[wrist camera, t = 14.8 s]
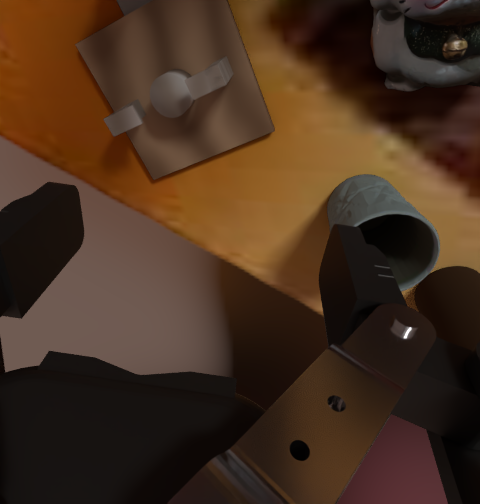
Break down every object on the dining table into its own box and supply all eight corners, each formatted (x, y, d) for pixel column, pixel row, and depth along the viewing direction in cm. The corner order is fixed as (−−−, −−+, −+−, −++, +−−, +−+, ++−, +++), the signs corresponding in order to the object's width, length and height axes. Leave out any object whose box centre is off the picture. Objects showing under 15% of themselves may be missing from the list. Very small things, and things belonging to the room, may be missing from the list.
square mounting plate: (215, -33, 34) (200, -44, 28) (274, 128, 42) (274, 150, 35) (80, 43, 39) (39, 50, 32) (156, 176, 46) (135, 204, 40)
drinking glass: (308, 223, 48) (316, 278, 38) (345, 153, 43) (366, 196, 33) (377, 248, 50) (402, 307, 40) (421, 182, 44) (464, 233, 34)
